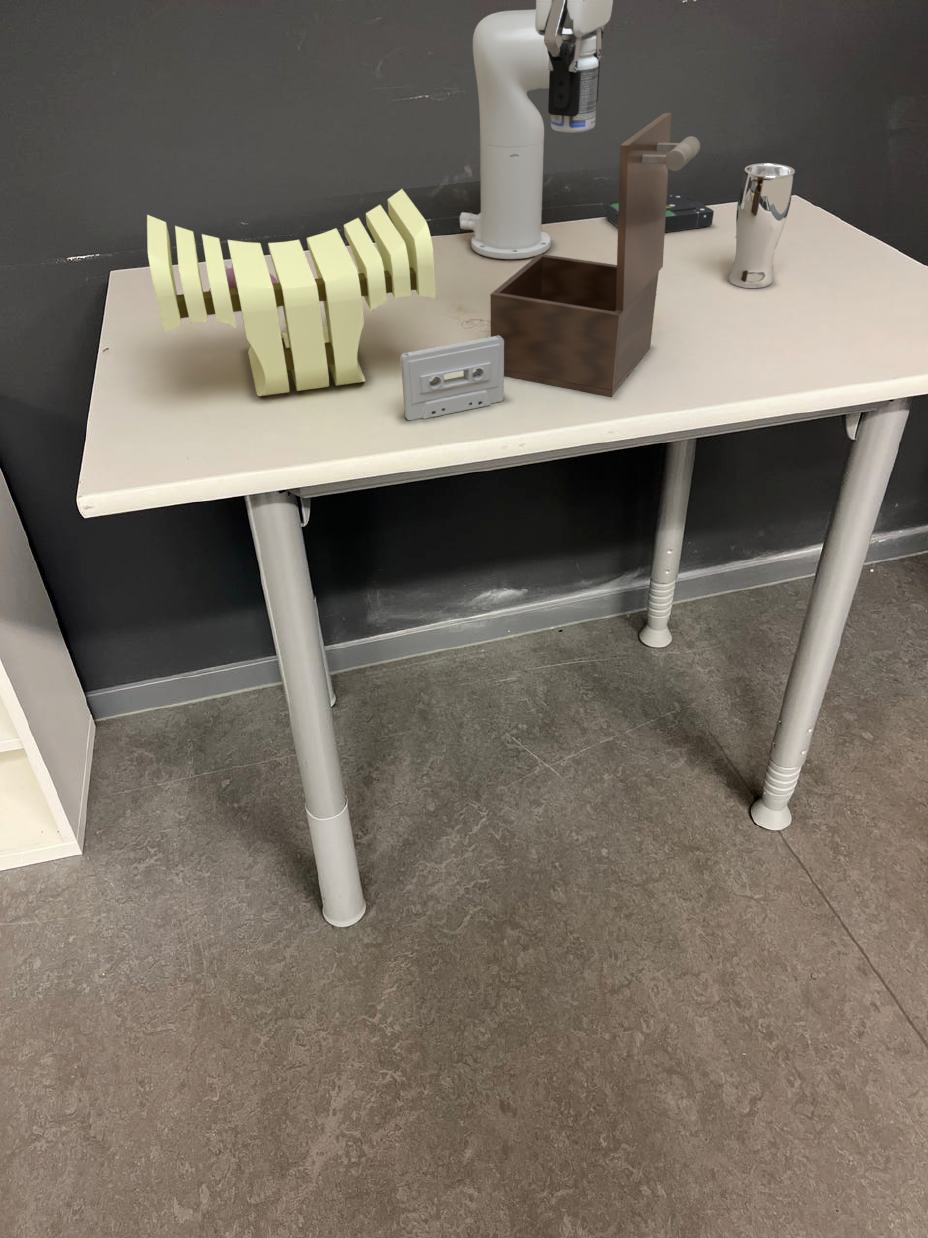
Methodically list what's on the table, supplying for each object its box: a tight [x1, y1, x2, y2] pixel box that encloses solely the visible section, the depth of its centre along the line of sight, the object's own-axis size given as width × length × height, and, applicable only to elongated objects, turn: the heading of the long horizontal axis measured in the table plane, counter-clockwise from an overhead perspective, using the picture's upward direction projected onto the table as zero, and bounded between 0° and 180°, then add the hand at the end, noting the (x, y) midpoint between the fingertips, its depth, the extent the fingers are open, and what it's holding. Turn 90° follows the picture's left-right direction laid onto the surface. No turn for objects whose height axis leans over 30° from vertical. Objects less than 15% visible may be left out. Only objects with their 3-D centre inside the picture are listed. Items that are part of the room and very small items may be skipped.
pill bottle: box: [550, 34, 599, 134], centre depth 96 cm, size 5×5×8 cm
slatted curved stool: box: [146, 188, 437, 397], centre depth 109 cm, size 30×16×18 cm, turn 105°
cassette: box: [400, 335, 505, 421], centre depth 103 cm, size 12×2×8 cm, turn 112°
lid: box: [616, 112, 701, 311], centre depth 100 cm, size 16×15×5 cm
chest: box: [489, 253, 660, 398], centre depth 112 cm, size 16×15×10 cm
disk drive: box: [605, 193, 715, 233], centre depth 153 cm, size 10×3×15 cm
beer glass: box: [728, 162, 796, 289], centre depth 129 cm, size 7×7×15 cm
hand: (573, 106), depth 97 cm, fingers closed on pill bottle, 4 cm apart
